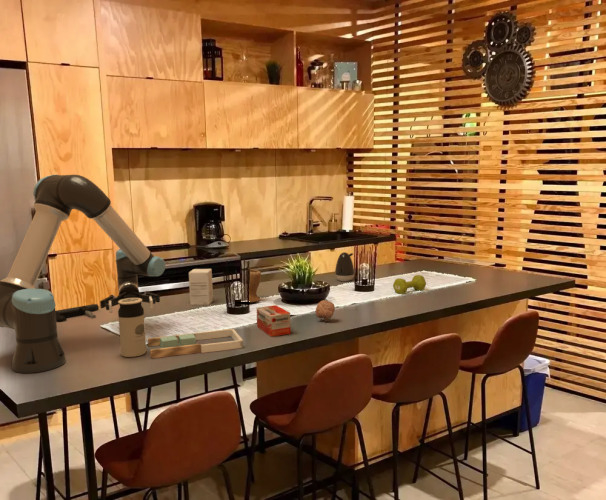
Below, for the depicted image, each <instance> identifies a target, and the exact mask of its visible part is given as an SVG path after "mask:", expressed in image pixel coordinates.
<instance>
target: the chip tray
mask: <svg viewBox="0 0 606 500" xmlns="http://www.w3.org/2000/svg"><path fill="white" fill-rule="evenodd" d="M194 333H195V338H196V341H203V340H209V339H210V340H211V339H219V338H229V337H231V338H232V340H229V341H222V342H214V343H213V342H212V343H205V344H201V352H200V353H202V354H203V353H204V354H205V353H213V352H220V351H228V350H230V351H231V350H237V349H238V350H239V349H244V340H243V338H242V337H241V336H240V335H239V333H237V331H236V330H235V329H234V328H228V329H227V328H226V329H216V330H209V331H199V332H194Z"/></svg>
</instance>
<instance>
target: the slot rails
mask: <svg viewBox="0 0 606 500" xmlns="http://www.w3.org/2000/svg"><path fill="white" fill-rule="evenodd" d="M195 333H196V332H193V333H191V334H194V336H195ZM186 334H187V333H185V334H182V335H186ZM179 335H180V334H175V335H173V336H175V337H176V338H177V339H178V344H179ZM168 336H169V335H168ZM168 336H166V335H165V336H164V337H168ZM161 337H162V336H158V337H157V336H156V337H151V338H149V337H148V338H147V347H157V346H159V348H153V349H150V352H149V353H150V359H157V358H166V357H174V356H182V355H190V354H197V353H201V345H202V344H201V343H196V344H193V345H184V346H179V345H178V346H176V347H168V348H160V338H161Z"/></svg>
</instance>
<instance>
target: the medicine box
mask: <svg viewBox="0 0 606 500" xmlns="http://www.w3.org/2000/svg"><path fill="white" fill-rule="evenodd" d="M291 324H292V323H291V312H290V311H288V310H286V309H284V308H282V307H281V306H279V305H277V304H274V305H268V306H267V305H266V306H260V307H256V326H257V329H259V330H260V331H262V332H264V333H265V334H266V335H267V336H269V337H271V338H273V337H280V336H285V335H291V333H292V332H291V331H292V330H291V329H292V328H291Z"/></svg>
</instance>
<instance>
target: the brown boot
mask: <svg viewBox="0 0 606 500" xmlns="http://www.w3.org/2000/svg"><path fill="white" fill-rule="evenodd" d="M249 269H250V286H249V301H250V304H251V303H256V302H259V301H260V300H261V299H260V297H259V296H258V295H257V292H258V291H257V290H258V288H259V285H260V282H261V279H262V273H261V271H260V270H257V269H253V268H249Z"/></svg>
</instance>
